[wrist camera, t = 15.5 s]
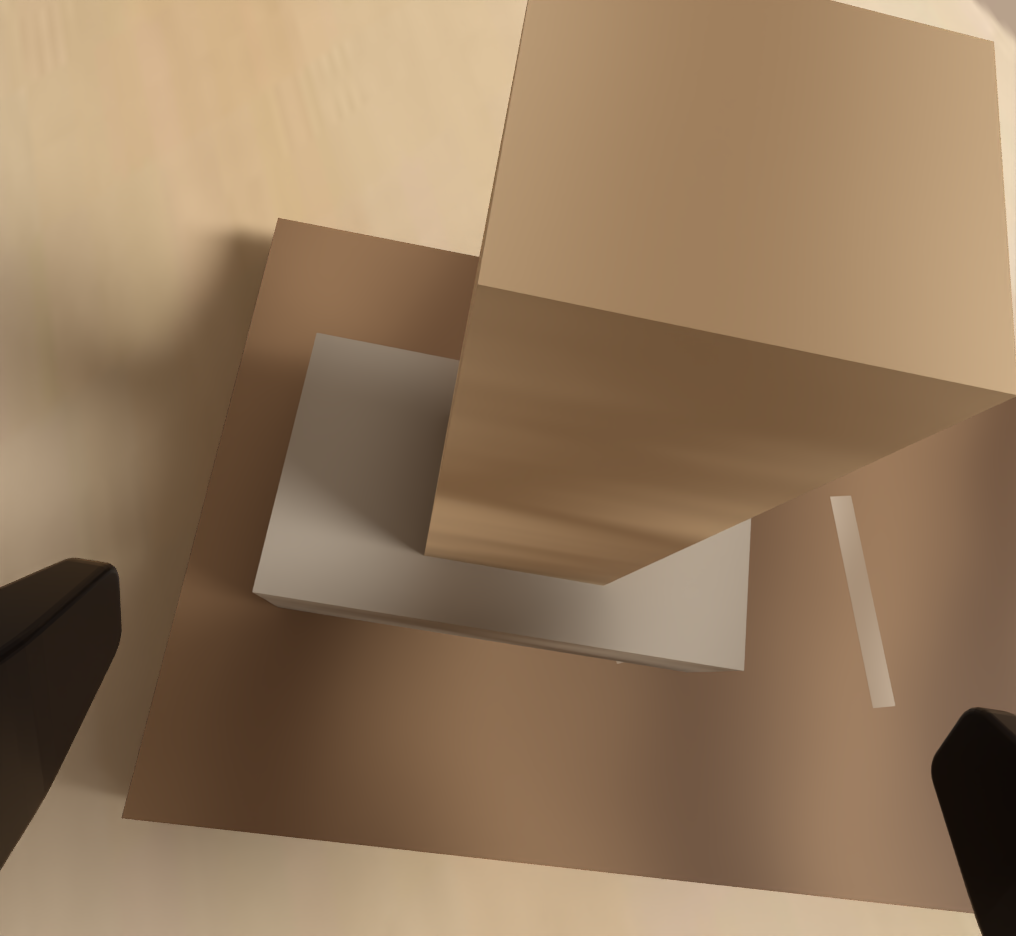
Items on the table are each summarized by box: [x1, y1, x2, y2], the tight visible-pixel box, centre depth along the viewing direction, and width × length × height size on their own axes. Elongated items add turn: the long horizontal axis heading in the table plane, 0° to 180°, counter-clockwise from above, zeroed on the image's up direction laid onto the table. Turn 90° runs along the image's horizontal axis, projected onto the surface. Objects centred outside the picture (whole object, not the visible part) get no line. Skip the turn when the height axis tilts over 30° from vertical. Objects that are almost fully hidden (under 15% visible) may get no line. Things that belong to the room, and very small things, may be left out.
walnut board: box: [122, 218, 1016, 913], centre depth 16 cm, size 22×12×2 cm, turn 82°
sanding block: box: [252, 0, 1016, 672], centre depth 9 cm, size 8×4×11 cm, turn 82°
